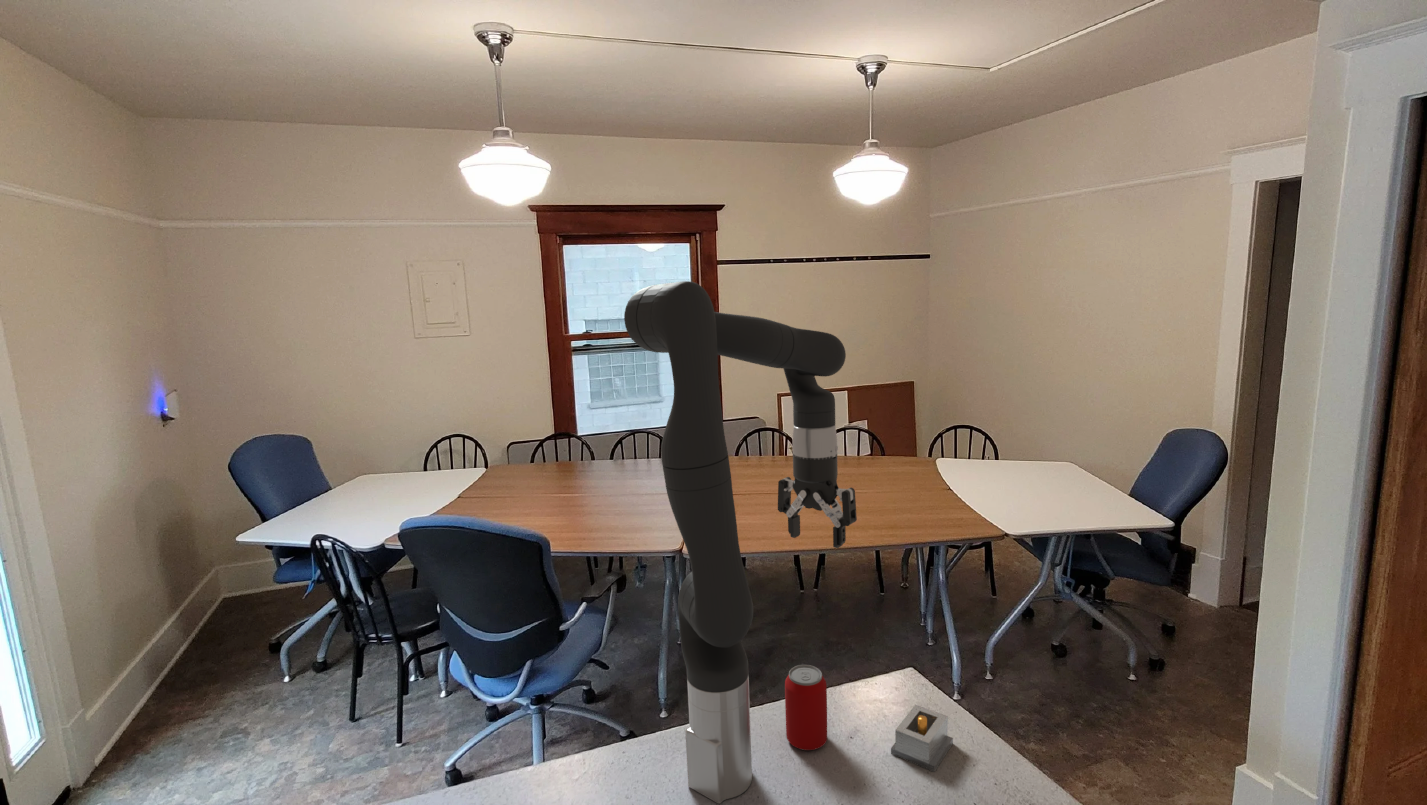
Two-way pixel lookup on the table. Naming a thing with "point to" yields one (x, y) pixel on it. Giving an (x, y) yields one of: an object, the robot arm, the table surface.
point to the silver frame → (917, 743)
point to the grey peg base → (937, 757)
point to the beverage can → (806, 707)
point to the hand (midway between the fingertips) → (816, 541)
